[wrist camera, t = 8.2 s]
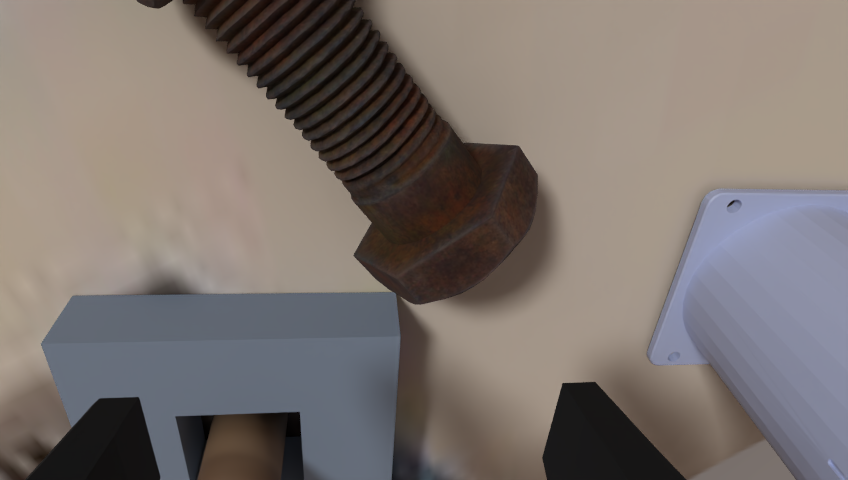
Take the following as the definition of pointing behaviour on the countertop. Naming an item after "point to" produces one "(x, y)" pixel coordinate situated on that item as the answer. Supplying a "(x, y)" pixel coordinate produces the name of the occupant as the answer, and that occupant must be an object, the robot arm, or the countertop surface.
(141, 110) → the countertop surface
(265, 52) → the bolt
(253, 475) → the long walnut pin
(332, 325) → the hole block
